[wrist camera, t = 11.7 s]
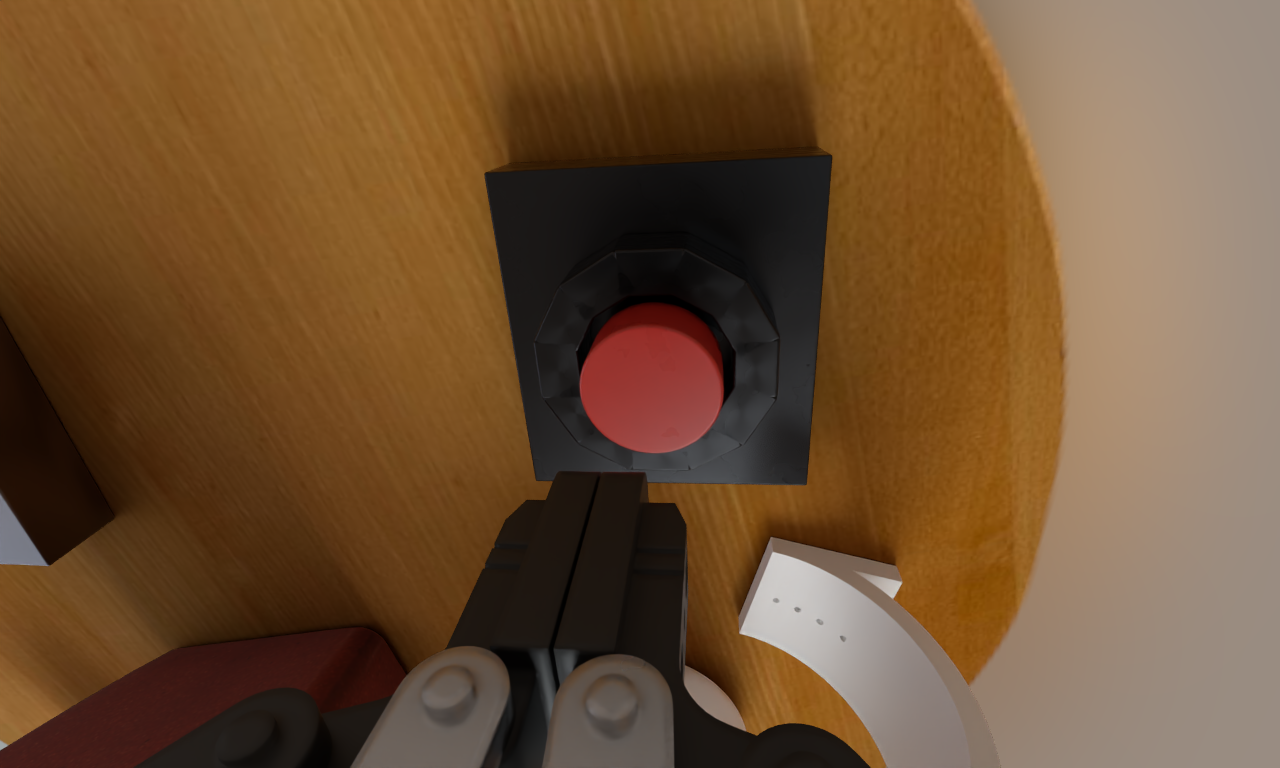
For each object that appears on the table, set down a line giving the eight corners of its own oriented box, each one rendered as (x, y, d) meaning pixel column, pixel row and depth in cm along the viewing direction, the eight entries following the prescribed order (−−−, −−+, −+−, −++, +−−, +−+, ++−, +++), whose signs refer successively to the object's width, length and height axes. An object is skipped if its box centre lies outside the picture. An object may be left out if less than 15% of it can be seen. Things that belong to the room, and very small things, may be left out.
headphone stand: (770, 535, 23) (821, 928, 12) (923, 571, 23) (1106, 996, 12) (737, 617, 25) (756, 1012, 14) (877, 650, 25) (999, 1070, 14)
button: (584, 302, 16) (570, 326, 14) (723, 299, 15) (723, 323, 14) (598, 420, 17) (586, 453, 16) (722, 421, 17) (723, 455, 15)
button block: (508, 162, 18) (457, 182, 14) (819, 146, 17) (847, 163, 13) (551, 446, 22) (520, 515, 19) (798, 448, 21) (815, 522, 18)
